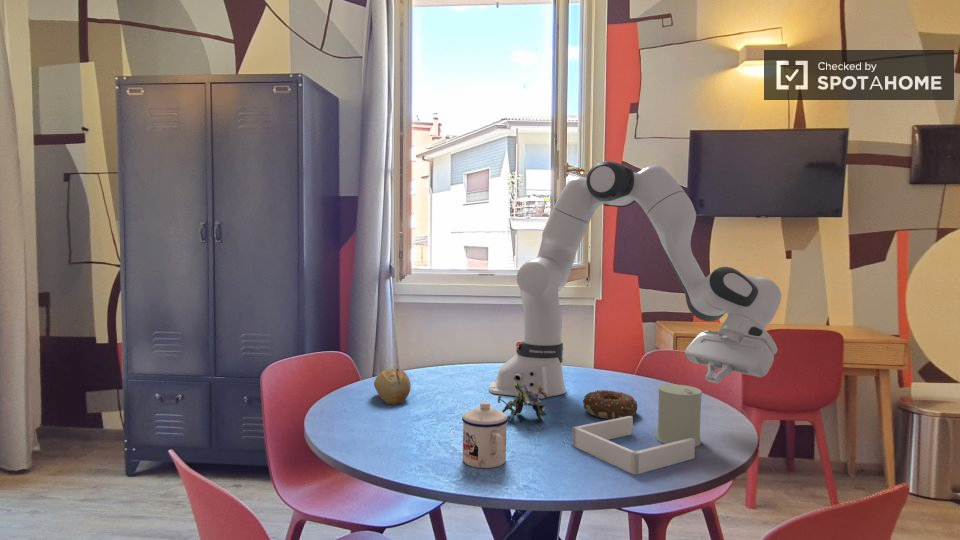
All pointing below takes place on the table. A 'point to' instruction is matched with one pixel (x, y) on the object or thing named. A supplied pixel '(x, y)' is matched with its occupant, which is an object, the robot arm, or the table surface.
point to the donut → (610, 404)
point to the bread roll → (392, 386)
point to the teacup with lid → (484, 437)
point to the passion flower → (526, 401)
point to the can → (679, 413)
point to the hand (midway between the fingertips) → (711, 381)
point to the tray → (598, 445)
